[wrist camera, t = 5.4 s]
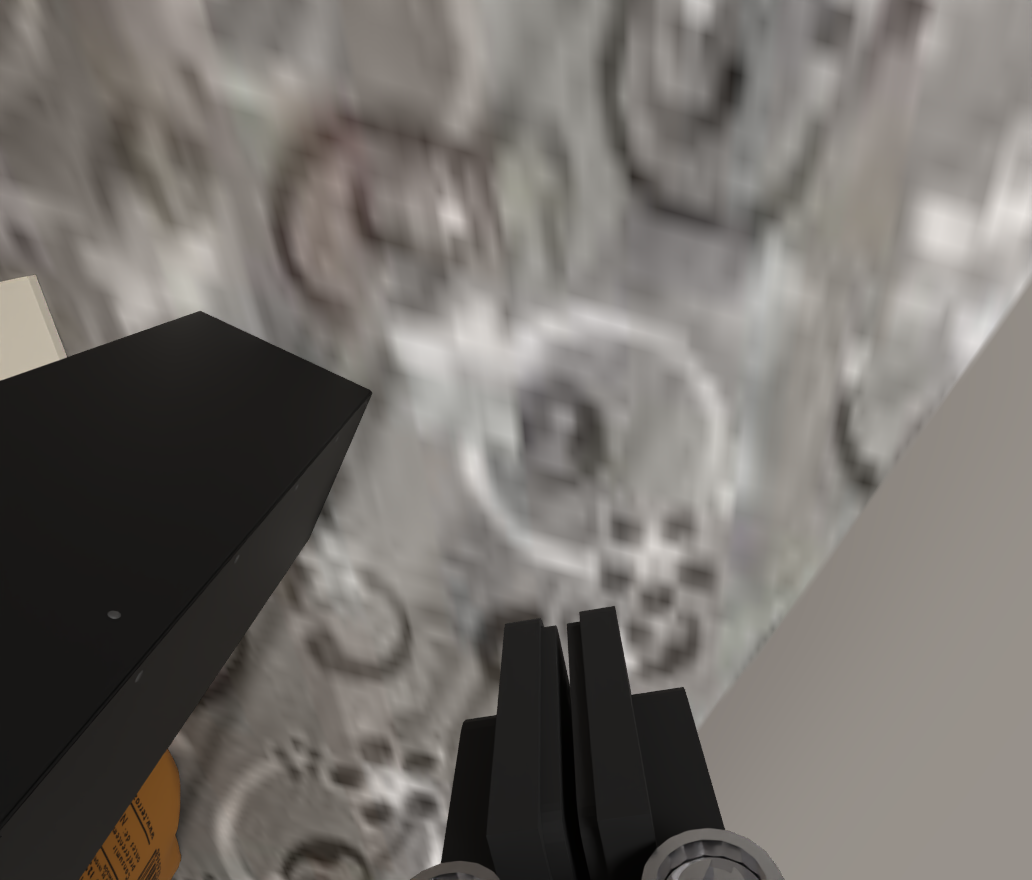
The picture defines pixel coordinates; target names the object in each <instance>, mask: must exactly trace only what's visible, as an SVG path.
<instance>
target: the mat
mask: <svg viewBox="0 0 1032 880" xmlns="http://www.w3.org/2000/svg"><path fill="white" fill-rule="evenodd" d="M64 358H67V356H66V353H65V350H64V348H63V345H62V343H61V340H60V337H59V335H58V332H57V330H56V327H55V324H54V322H53V319H52V316H51V314H50V311H49V309H48V306H47V303H46V301H45V298H44V296H43V293H42V290H41V288H40V285H39V283H38V280H37V277H36V275H31V276H26V277H21V278H16V279H11V280H7V281H2V282H0V381H1V380H4V379H6V378H9V377H12V376H15V375H18V374H21V373H24V372H27V371H29V370H32V369H35V368H38V367H41V366H44V365H47V364H49V363H52V362H55V361H58V360H61V359H64Z"/></svg>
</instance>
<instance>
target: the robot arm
mask: <svg viewBox="0 0 1032 880" xmlns="http://www.w3.org/2000/svg"><path fill="white" fill-rule="evenodd" d="M579 614H580V622H574V623H568V624H567V635H568V653H569V671H570V684H569V680H568V675H567V670H566V666H565V661H564V656H563V652H562V647H561V642H560V638H559V633H558V629H557V626H549V627H544V625H543V622H542V619H541V618H538V619H532V620H526V621H519V622H513V623H507V624H505V628H504V639H503V650H502V662H501V673H500V684H499V695H498V707H497V715H494V716H488V717H481V718H474V719H468V720H465V721H464V722H463V725H462V729H461V735H460V741H459V748H458V755H457V761H456V768H455V774H454V781H453V787H452V794H451V801H450V807H449V814H448V820H447V827H446V833H445V840H444V847H443V853H442V860H441V864H438V865H436V866H433V867H431V868H428V869H426V870H423V871H421V872H420V873H419V874H417V875H416V876H414V877H413V878H411V879H410V880H784V878H783V876H782V874H781V872H780V870H779V869H778V867H777V865H776V864H775V863H774V861H773V860H772V859H771V858H770V856H769V855H768V854H767V852H766V851H765V850H764V849H762V848H761V847H760V846H758V845H757V844H756V843H754V842H753V841H751V840H750V839H748V838H746V837H744V836H741V835H738V834H736V833H733V832H731V831H728V830H725V828H724V825H723V821H722V818H721V814H720V811H719V807H718V804H717V800H716V797H715V793H714V790H713V786H712V783H711V779H710V776H709V772H708V769H707V765H706V762H705V758H704V754H703V751H702V748H701V744H700V741H699V737H698V733H697V730H696V726H695V723H694V719H693V716H692V712H691V709H690V705H689V702H688V698H687V695H686V692H685V689H684V687H681V688H674V689H667V690H661V691H654V692H647V693H641V694H634V695H631V690H630V684H629V679H628V674H627V668H626V663H625V658H624V652H623V647H622V642H621V636H620V631H619V626H618V620H617V615H616V610H615V606H612V607H606V608H600V609H594V610H587V611H581V612H579Z"/></svg>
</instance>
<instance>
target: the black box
mask: <svg viewBox="0 0 1032 880" xmlns="http://www.w3.org/2000/svg"><path fill="white" fill-rule="evenodd" d="M371 395H372V392H371V390H369V389H367V388H364V387H362V386H360V385H358V384H356V383H354V382H352V381H349V380H347V379H345V378H343V377H341V376H339V375H337V374H334V373H332V372H330V371H328V370H326V369H324V368H322V367H319V366H317V365H315V364H313V363H311V362H309V361H306V360H304V359H302V358H300V357H298V356H296V355H294V354H291V353H289V352H287V351H285V350H283V349H281V348H279V347H276V346H274V345H272V344H270V343H268V342H266V341H264V340H261V339H259V338H257V337H255V336H253V335H251V334H249V333H246V332H244V331H242V330H240V329H238V328H236V327H234V326H231V325H229V324H227V323H225V322H223V321H221V320H219V319H216V318H214V317H212V316H210V315H208V314H206V313H204V312H201V311H199V312H196V313H193V314H190V315H187V316H184V317H181V318H179V319H176V320H173V321H170V322H167V323H164V324H161V325H158V326H156V327H153V328H150V329H147V330H144V331H141V332H138V333H136V334H133V335H130V336H127V337H124V338H121V339H118V340H115V341H113V342H110V343H107V344H104V345H101V346H98V347H95V348H93V349H90V350H87V351H84V352H81V353H78V354H75V355H72V356H70V357H67V358H64V359H61V360H58V361H55V362H52V363H49V364H47V365H44V366H41V367H38V368H35V369H32V370H29V371H27V372H24V373H21V374H18V375H15V376H12V377H9V378H6V379H4V380H1V381H0V880H79V879H80V878H81V876H82V875H83V873H84V872H85V870H86V869H87V867H88V866H89V864H90V863H91V861H92V860H93V858H94V857H95V855H96V854H97V852H98V851H99V849H100V848H101V846H102V845H103V844H104V842H105V841H106V839H107V838H108V836H109V835H110V833H111V832H112V830H113V829H114V827H115V826H116V824H117V823H118V821H119V820H120V818H121V817H122V815H123V814H124V812H125V811H126V809H127V808H128V806H129V805H130V803H131V802H132V800H133V799H134V798H135V796H136V795H137V793H138V792H139V790H140V789H141V787H142V786H143V784H144V783H145V781H146V780H147V778H148V777H149V775H150V774H151V772H152V771H153V769H154V768H155V766H156V765H157V763H158V762H159V760H160V759H161V757H162V756H163V755H164V753H165V752H166V750H167V749H168V747H169V746H170V744H171V743H172V741H173V740H174V738H175V737H176V735H177V734H178V732H179V731H180V729H181V728H182V726H183V725H184V723H185V722H186V720H187V719H188V717H189V716H190V714H191V713H192V711H193V710H194V709H195V707H196V706H197V704H198V703H199V701H200V700H201V698H202V697H203V695H204V694H205V692H206V691H207V689H208V688H209V686H210V685H211V683H212V682H213V680H214V679H215V677H216V676H217V674H218V673H219V671H220V670H221V668H222V667H223V666H224V664H225V663H226V661H227V660H228V658H229V657H230V655H231V654H232V652H233V651H234V649H235V648H236V646H237V645H238V643H239V642H240V640H241V639H242V637H243V636H244V634H245V633H246V631H247V630H248V628H249V627H250V625H251V624H252V622H253V621H254V620H255V618H256V617H257V615H258V614H259V612H260V611H261V609H262V608H263V606H264V605H265V603H266V602H267V600H268V599H269V597H270V596H271V594H272V593H273V591H274V590H275V588H276V587H277V585H278V584H279V582H280V581H281V579H282V578H283V577H284V575H285V574H286V572H287V571H288V569H289V568H290V566H291V565H292V563H293V562H294V560H295V559H296V557H297V556H298V554H299V553H300V551H301V550H302V548H303V547H304V545H305V544H306V542H307V541H308V539H309V537H310V535H311V533H312V531H313V528H314V526H315V524H316V521H317V519H318V517H319V515H320V512H321V510H322V508H323V505H324V503H325V501H326V498H327V496H328V494H329V492H330V489H331V487H332V485H333V482H334V480H335V478H336V475H337V473H338V471H339V469H340V466H341V464H342V462H343V459H344V457H345V455H346V453H347V450H348V448H349V446H350V443H351V441H352V439H353V436H354V434H355V432H356V430H357V427H358V425H359V423H360V420H361V418H362V416H363V413H364V411H365V409H366V407H367V404H368V402H369V400H370V397H371Z"/></svg>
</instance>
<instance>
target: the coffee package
mask: <svg viewBox="0 0 1032 880" xmlns="http://www.w3.org/2000/svg"><path fill="white" fill-rule="evenodd" d="M179 813H180V779H179V772H178V768H177V766H176V764H175V762H174V760H173V758H172V756H171V754H170V752H169V750H168V749H167V750H166V752H165V753H164V755H163V756H162V757H161V759H160V760H159V762H158V763H157V765H156V766H155V768H154V769H153V771H152V772H151V774H150V775H149V777H148V778H147V780H146V781H145V783H144V784H143V786H142V787H141V789H140V790H139V792H138V793H137V795H136V796H135V798H134V799H133V800H132V802H131V803H130V805H129V806H128V808H127V809H126V811H125V812H124V814H123V815H122V817H121V818H120V820H119V821H118V823H117V824H116V826H115V827H114V829H113V830H112V832H111V833H110V835H109V836H108V838H107V839H106V841H105V842H104V844H103V845H102V846H101V848H100V849H99V851H98V852H97V854H96V855H95V857H94V858H93V860H92V861H91V863H90V864H89V866H88V867H87V869H86V870H85V872H84V873H83V875H82V876H81V878H80V879H79V880H171V878H172V877H173V875H174V873H175V872H176V870H177V868H178V867H179V863H180V861H181V854H180V851H179V845H178V842H177V839H176V836H175V834H176V831H177V829H178V823H179Z"/></svg>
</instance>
